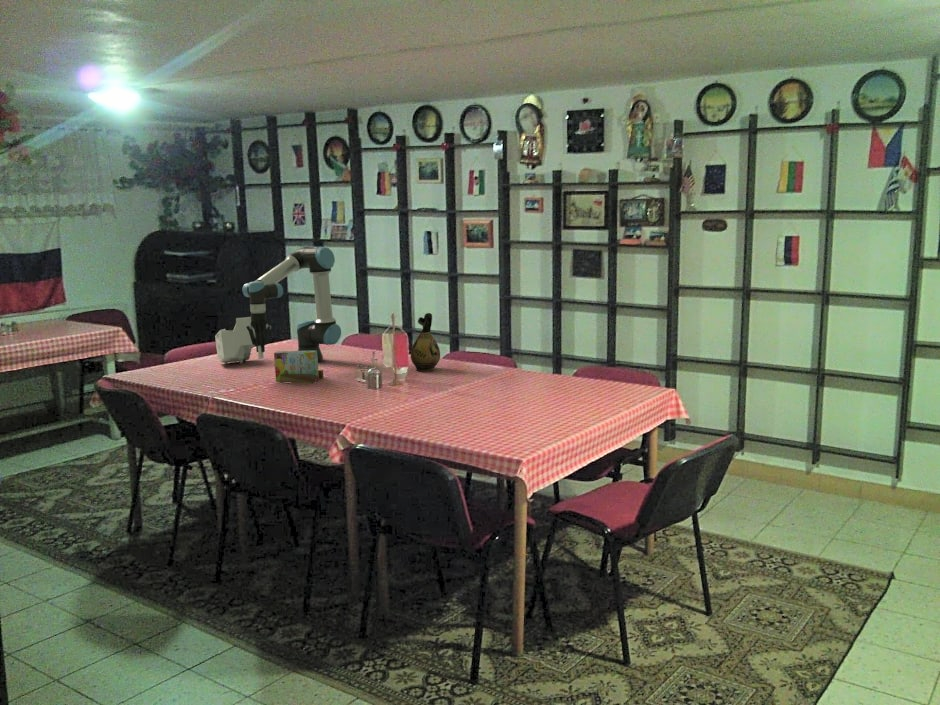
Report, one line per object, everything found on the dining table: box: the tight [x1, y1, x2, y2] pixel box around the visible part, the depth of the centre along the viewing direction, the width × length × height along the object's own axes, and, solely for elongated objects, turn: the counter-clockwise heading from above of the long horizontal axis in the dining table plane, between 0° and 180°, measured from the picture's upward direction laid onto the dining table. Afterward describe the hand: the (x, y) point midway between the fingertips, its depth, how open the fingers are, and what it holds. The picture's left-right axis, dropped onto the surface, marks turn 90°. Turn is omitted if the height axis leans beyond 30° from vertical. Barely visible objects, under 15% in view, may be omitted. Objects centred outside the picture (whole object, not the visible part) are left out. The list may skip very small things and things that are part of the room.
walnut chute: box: [279, 369, 324, 384], centre depth 426 cm, size 13×18×4 cm
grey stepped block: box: [214, 316, 256, 365], centre depth 475 cm, size 20×16×25 cm
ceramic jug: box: [410, 312, 441, 373], centre depth 441 cm, size 17×15×30 cm
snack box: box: [273, 350, 320, 382], centre depth 425 cm, size 21×6×15 cm, turn 84°
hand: (261, 358), depth 427 cm, fingers closed
